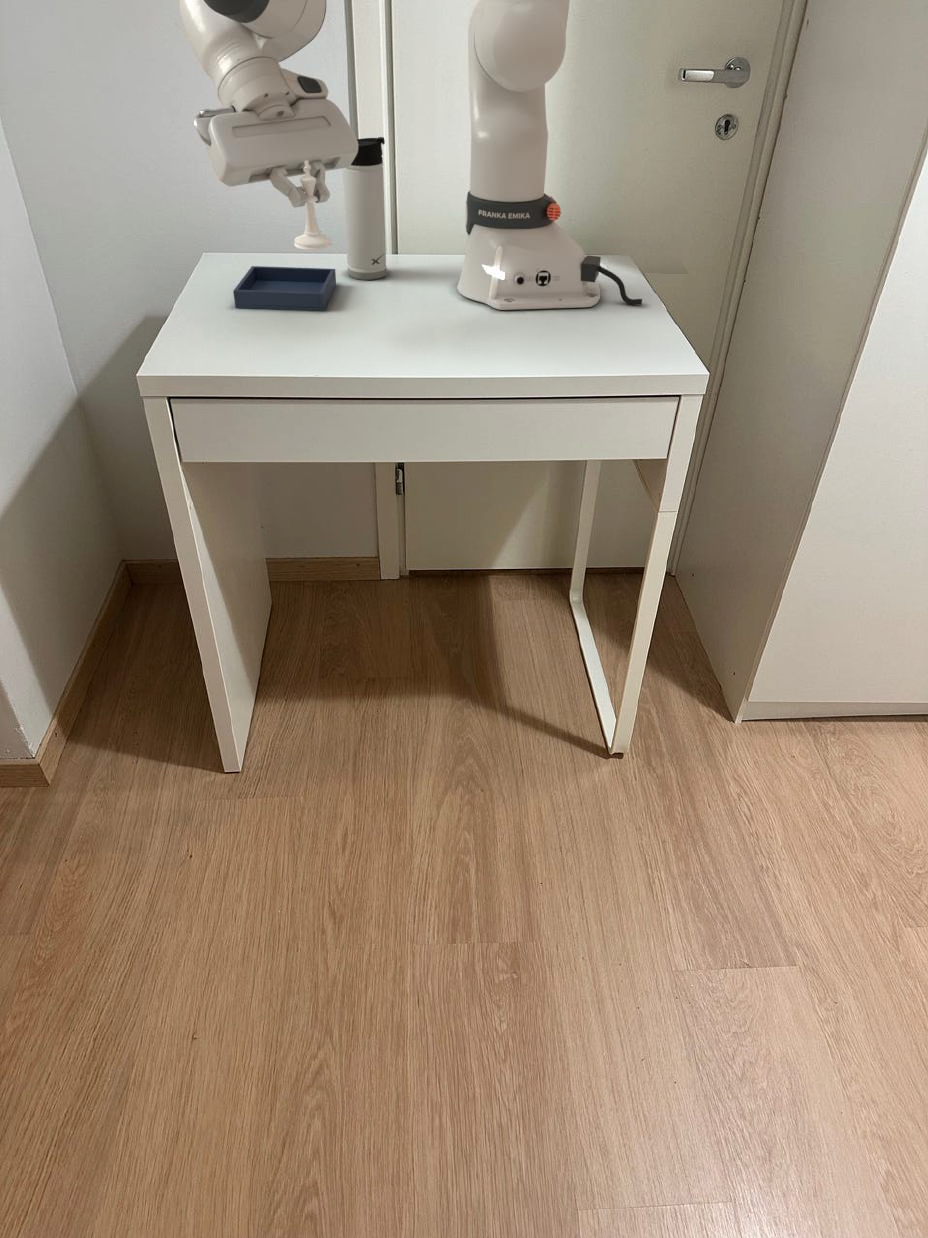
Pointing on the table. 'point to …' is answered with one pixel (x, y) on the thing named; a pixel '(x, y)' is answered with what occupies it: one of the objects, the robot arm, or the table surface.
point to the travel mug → (365, 211)
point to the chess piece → (311, 217)
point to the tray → (285, 288)
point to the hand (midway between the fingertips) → (312, 201)
